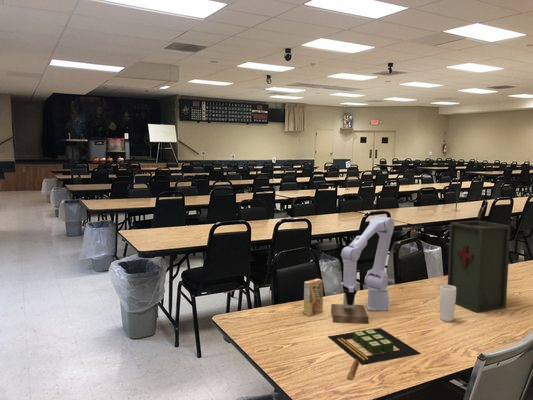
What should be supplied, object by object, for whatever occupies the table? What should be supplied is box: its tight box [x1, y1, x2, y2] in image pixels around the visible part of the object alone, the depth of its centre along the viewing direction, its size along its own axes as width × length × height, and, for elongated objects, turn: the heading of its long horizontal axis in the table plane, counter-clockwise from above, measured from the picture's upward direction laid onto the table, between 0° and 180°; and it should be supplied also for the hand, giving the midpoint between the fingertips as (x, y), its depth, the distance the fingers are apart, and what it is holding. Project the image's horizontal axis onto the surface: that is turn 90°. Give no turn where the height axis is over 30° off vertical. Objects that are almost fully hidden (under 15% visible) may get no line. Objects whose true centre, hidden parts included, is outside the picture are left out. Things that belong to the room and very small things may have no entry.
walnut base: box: [330, 303, 369, 324], centre depth 191 cm, size 15×15×3 cm
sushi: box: [327, 327, 421, 366], centre depth 162 cm, size 25×25×4 cm
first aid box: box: [447, 220, 511, 314], centre depth 206 cm, size 18×18×40 cm
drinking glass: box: [439, 284, 456, 322], centre depth 187 cm, size 7×7×15 cm
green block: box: [342, 293, 356, 308], centre depth 191 cm, size 4×4×5 cm
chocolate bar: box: [346, 359, 360, 381], centre depth 142 cm, size 3×12×2 cm, turn 158°
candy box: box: [303, 278, 324, 317], centre depth 195 cm, size 9×4×15 cm, turn 129°
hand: (349, 302), depth 191 cm, fingers closed on green block, 4 cm apart
